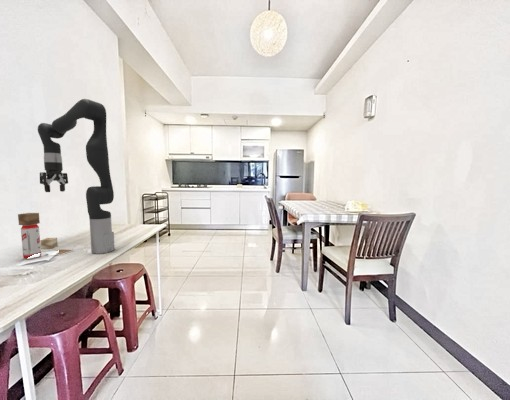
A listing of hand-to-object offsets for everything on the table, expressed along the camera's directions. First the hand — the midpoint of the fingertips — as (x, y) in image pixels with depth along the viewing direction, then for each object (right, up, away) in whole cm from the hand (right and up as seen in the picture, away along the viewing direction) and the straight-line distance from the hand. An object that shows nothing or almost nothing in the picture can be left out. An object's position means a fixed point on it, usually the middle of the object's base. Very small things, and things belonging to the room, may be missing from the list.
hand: (55, 191), depth 130 cm
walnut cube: (+4, -16, -19) cm, 25 cm away
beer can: (+4, -32, -18) cm, 37 cm away
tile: (+11, -31, -10) cm, 35 cm away
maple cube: (-2, -31, -1) cm, 31 cm away
